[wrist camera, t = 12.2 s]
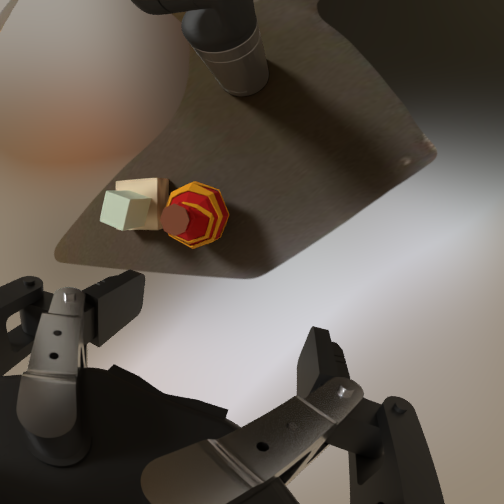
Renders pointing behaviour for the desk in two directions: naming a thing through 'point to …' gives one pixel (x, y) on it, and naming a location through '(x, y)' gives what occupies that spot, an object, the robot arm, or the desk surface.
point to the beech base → (154, 190)
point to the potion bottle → (195, 214)
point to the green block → (125, 209)
